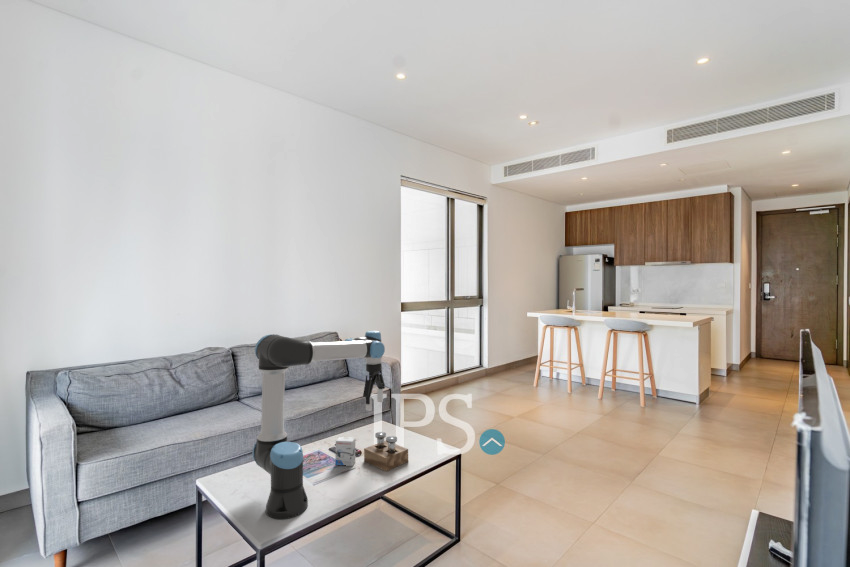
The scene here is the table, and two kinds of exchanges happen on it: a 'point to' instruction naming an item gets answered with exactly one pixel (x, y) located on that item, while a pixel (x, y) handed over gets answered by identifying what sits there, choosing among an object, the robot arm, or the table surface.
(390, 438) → the peg near
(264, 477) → the table surface
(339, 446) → the ink box
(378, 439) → the peg far
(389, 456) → the socket block
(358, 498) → the table surface
